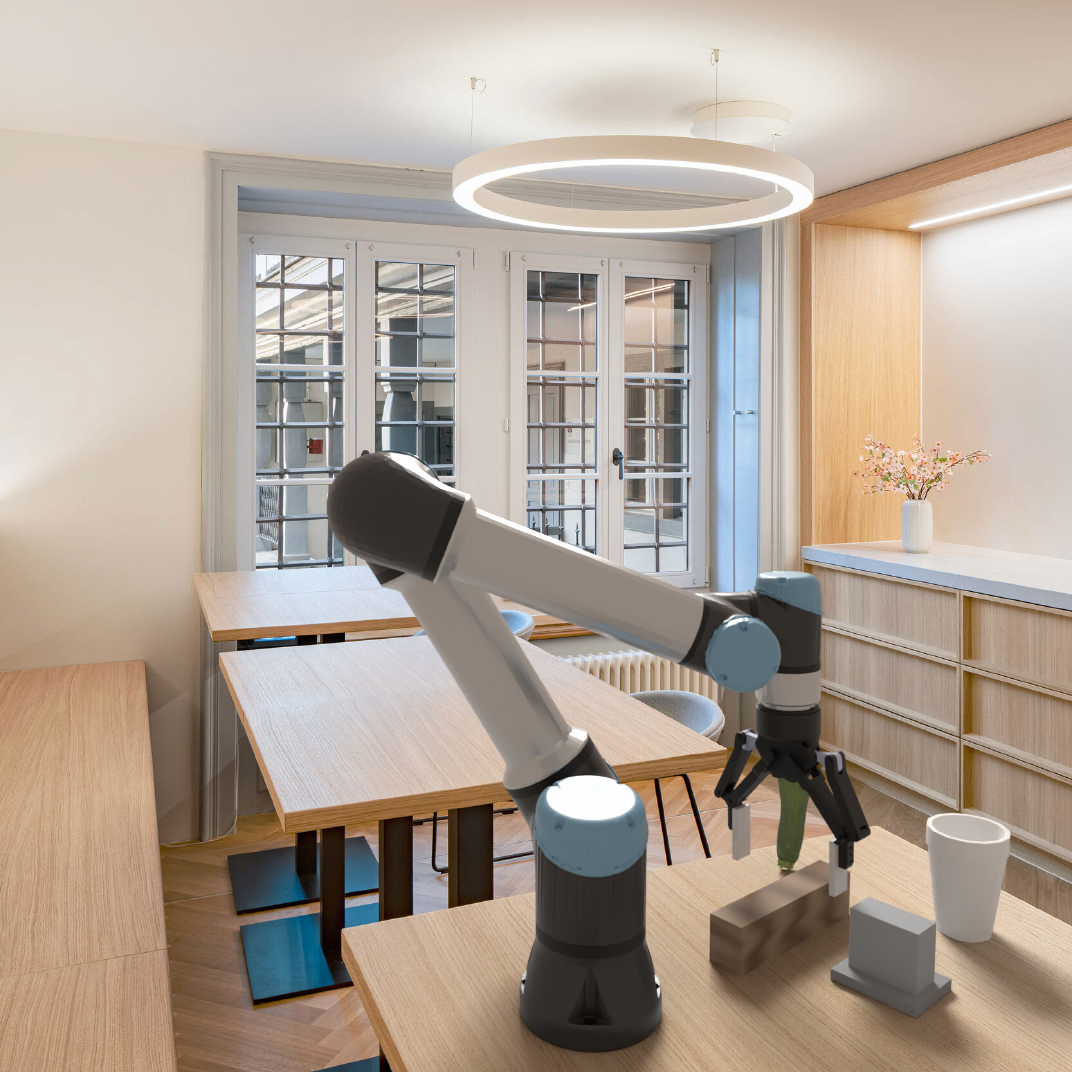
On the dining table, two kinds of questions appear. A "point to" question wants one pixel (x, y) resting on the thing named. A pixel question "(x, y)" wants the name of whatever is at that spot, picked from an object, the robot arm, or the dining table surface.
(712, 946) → the bar
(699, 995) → the dining table surface
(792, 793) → the vegetable
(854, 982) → the grey stepped block
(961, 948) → the dining table surface
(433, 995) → the dining table surface
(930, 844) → the foam cup
